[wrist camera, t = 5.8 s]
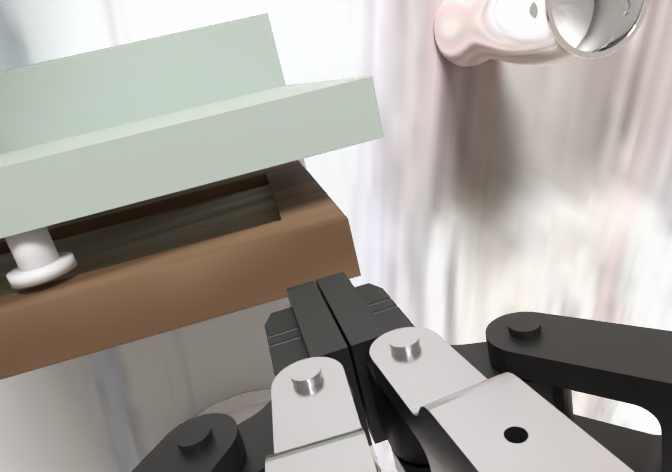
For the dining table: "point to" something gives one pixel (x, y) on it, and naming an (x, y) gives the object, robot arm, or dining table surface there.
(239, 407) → the dish
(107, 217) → the frame
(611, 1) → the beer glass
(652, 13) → the dining table surface
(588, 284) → the dining table surface
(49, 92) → the board
